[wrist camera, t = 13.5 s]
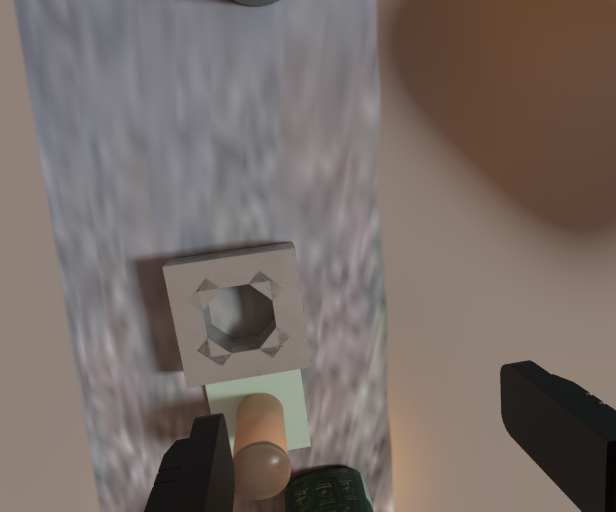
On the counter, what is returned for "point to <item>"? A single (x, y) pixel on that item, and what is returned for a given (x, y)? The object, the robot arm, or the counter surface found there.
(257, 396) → the tan rounded cylinder
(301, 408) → the mat
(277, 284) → the housing
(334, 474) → the coffee jar
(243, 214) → the counter surface
